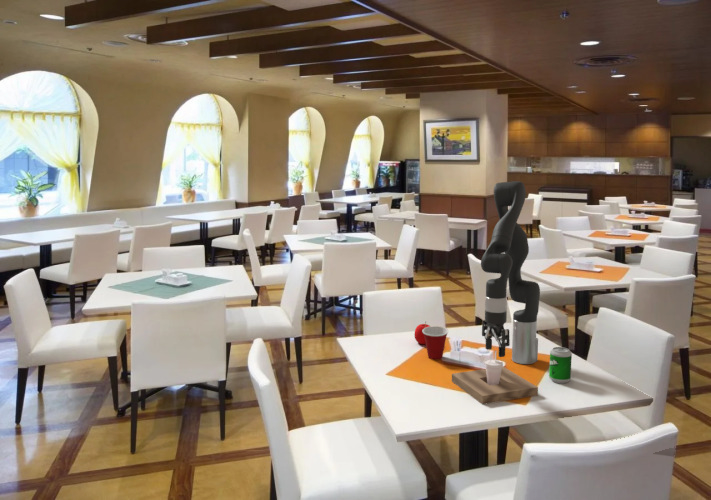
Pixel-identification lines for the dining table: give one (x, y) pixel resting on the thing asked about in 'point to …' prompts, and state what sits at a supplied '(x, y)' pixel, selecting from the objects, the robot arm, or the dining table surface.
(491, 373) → the smoothie
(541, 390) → the dining table surface
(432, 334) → the plastic cup
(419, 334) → the fruit
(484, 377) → the socket board
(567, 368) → the soda can
